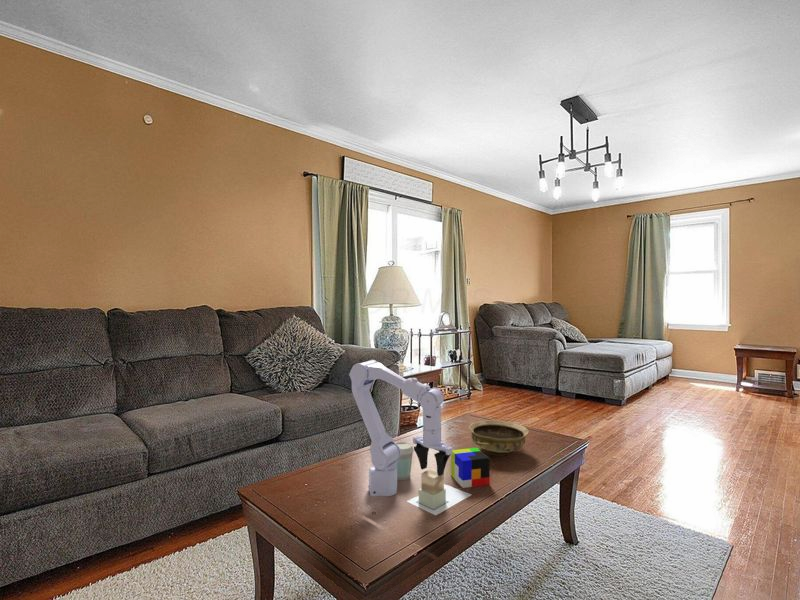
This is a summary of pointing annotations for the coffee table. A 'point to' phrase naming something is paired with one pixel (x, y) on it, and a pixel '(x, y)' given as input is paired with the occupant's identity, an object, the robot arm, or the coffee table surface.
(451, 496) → the board
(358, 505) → the coffee table surface
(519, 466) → the coffee table surface
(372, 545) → the coffee table surface
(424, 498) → the sage base block
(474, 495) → the coffee table surface
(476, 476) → the puzzle toy
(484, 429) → the ceramic bowl
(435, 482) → the maple block
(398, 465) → the coffee cup
